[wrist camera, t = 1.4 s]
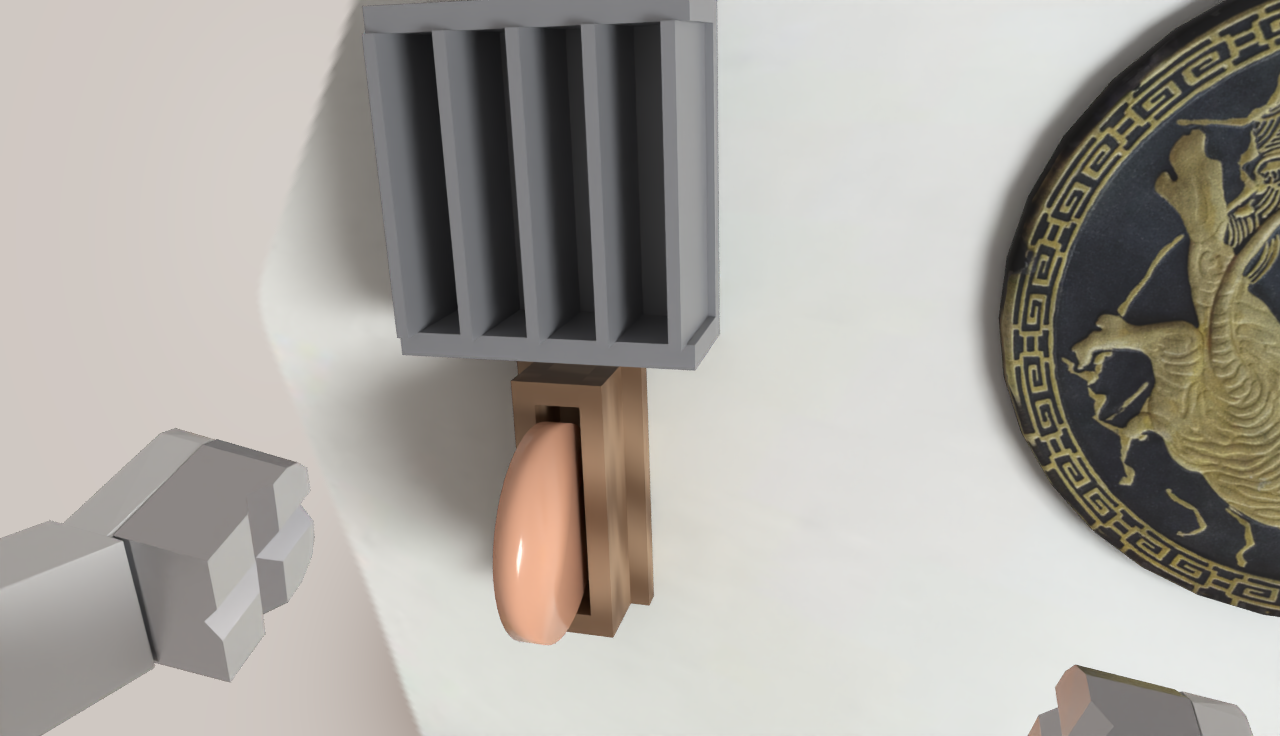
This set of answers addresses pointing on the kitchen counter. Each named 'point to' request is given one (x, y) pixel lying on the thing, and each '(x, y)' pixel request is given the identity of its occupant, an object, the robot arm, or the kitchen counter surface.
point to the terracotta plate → (541, 535)
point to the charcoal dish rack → (549, 178)
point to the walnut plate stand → (601, 476)
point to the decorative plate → (1163, 309)
